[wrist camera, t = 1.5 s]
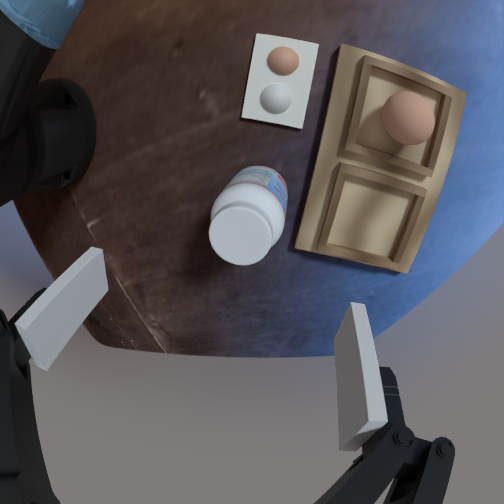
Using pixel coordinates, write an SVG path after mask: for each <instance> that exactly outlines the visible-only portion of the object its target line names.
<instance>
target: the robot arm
mask: <svg viewBox="0 0 504 504" xmlns="http://www.w3.org/2000/svg"><path fill="white" fill-rule="evenodd" d="M83 4H84V0H0V207H1V206H3V205H4V204H6V203H8V202H9V201H11V200H13V199H15V198H16V197H18V196H20V195H22V194H24V193H31V192H46V191H56V190H59V189H62V188H64V187H66V186H68V185H70V184H72V183H73V182H75V181H76V180H78V179H79V178H80V177H81V176H82V175H83V173H84V172H85V170H86V169H87V167H88V165H89V163H90V161H91V158H92V155H93V151H94V146H95V139H96V124H95V116H94V112H93V108H92V105H91V103H90V100H89V98H88V96H87V95H86V93H85V92H84V90H83V89H82V88H81V87H80V86H79V85H78V84H76V83H75V82H73V81H71V80H68V79H61V78H60V79H48V80H44V81H41V82H39V81H40V79H41V77H42V75H43V73H44V71H45V69H46V67H47V66H48V64H49V62H50V60H51V58H52V57H53V55H54V53H55V52H56V50H57V49H59V48H60V47H61V46H62V44H63V42H64V37H65V35H66V33H67V32H68V30H69V28H70V27H71V25H72V23H73V22H74V20H75V19H76V17H77V15H78V14H79V12H80V11H81V9H82V7H83ZM107 291H108V284H107V278H106V271H105V264H104V257H103V249H99V248H95V247H91V248H90V249H89V250H88V251H87V252H85V253H84V254H83V255H82V256H81V257H80V258H79V259H78V260H77V261H76V262H75V263H73V264H72V265H71V266H70V267H69V268H68V269H67V270H66V271H65V272H64V273H63V274H62V275H61V276H60V277H59V278H58V279H57V280H56V281H55V282H54V283H53V284H52V285H51V286H50V287H49V288H48V289H47V288H43V289H41V290H40V291H38V292H36V293H35V294H34V295H33V296H32V297H31V298H30V300H28V301H27V302H26V304H25V305H24V306H23V307H22V308H21V309H20V310H19V311H18V312H17V313H16V314H15V315H14V316H13V317H12V318H11V319H10V321H9V322H8V321H7V318H6V316H5V314H4V312H3V311H2V310H1V309H0V504H60V502H59V500H58V499H57V498H56V496H55V495H54V493H53V491H52V488H51V485H50V481H49V478H48V474H47V470H46V466H45V463H44V458H43V454H42V450H41V445H40V440H39V436H38V430H37V424H36V418H35V411H34V404H33V395H32V386H31V373H30V364H29V362H28V361H29V359H30V358H32V360H33V361H34V363H35V365H36V366H38V367H40V368H42V369H43V370H46V371H47V370H48V368H49V367H50V366H51V364H52V363H53V361H54V360H55V358H56V357H57V356H58V354H59V353H60V352H61V350H62V349H63V347H64V346H65V345H66V343H67V342H68V341H69V339H70V338H71V337H72V335H73V334H74V333H75V331H76V330H77V329H78V327H79V326H80V325H81V324H82V322H83V321H84V320H85V318H86V317H87V316H88V315H89V313H90V312H91V311H92V310H93V308H94V307H95V306H96V304H97V303H98V302H99V301H100V300H101V298H102V297H103V296H104V295H105V293H106V292H107ZM334 352H335V366H336V379H337V397H338V398H337V399H338V423H339V451H357V450H358V449H359V448H360V447H361V446H362V454H361V455H360V456H359V457H358V458H357V459H355V460H354V461H353V464H352V465H351V466H350V468H349V469H348V470H347V471H346V472H345V473H344V474H343V475H342V477H340V478H339V479H338V481H337V482H336V483H335V484H334V485H333V486H332V487H331V488H330V489H329V490H328V491H327V492H326V493H325V494H324V495H322V496H321V498H319V499H318V500H317V501H316V502H315V503H314V504H374V503H375V502H376V500H377V499H378V498H379V497H380V495H381V494H382V493H383V491H384V490H385V489H386V488H387V486H388V485H389V483H390V482H391V481H392V479H393V478H394V480H393V482H392V485H391V487H390V490H389V492H388V494H387V496H386V498H385V501H384V503H383V504H442V503H443V499H444V496H445V493H446V489H447V486H448V482H449V478H450V474H451V470H452V466H453V461H454V456H455V448H454V445H453V443H452V442H451V441H450V440H449V439H447V438H445V437H439V438H436V439H435V440H434V441H433V442H430V441H427V440H423V439H420V438H417V437H415V436H414V433H413V432H412V431H411V430H410V429H409V428H408V427H406V425H405V421H404V415H403V410H402V405H401V400H400V396H399V390H398V388H397V387H398V385H397V381H396V377H395V375H394V373H393V372H392V370H391V369H390V367H379V366H378V361H377V356H376V351H375V346H374V342H373V337H372V333H371V328H370V324H369V320H368V316H367V312H366V308H365V304H360V303H354V302H351V303H350V305H349V307H348V309H347V312H346V314H345V316H344V319H343V321H342V323H341V325H340V327H339V330H338V332H337V334H336V336H335V338H334Z"/></svg>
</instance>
